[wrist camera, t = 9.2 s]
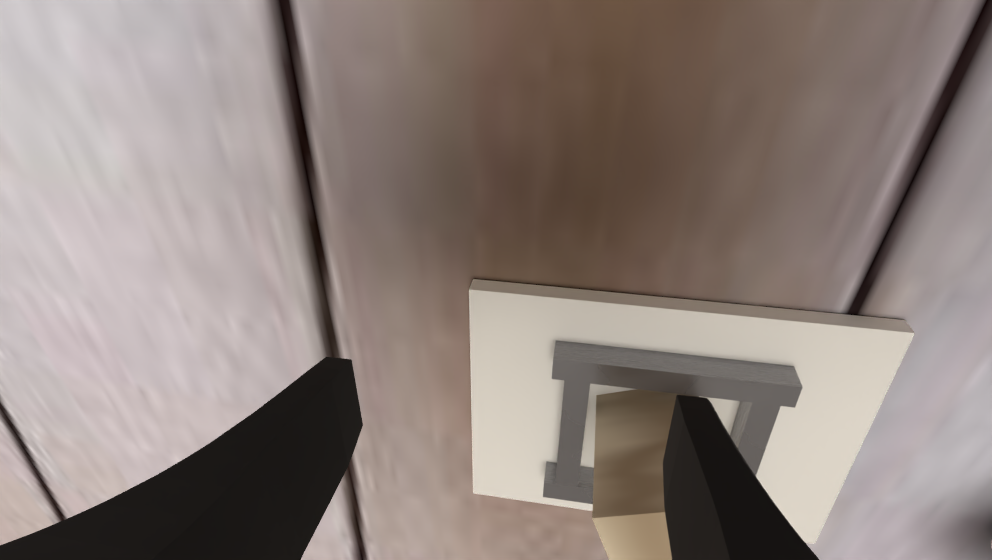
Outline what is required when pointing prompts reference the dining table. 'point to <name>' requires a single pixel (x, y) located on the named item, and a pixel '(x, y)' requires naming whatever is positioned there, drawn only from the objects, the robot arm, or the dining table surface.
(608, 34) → the dining table surface
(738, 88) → the dining table surface
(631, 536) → the birch block
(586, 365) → the socket board
